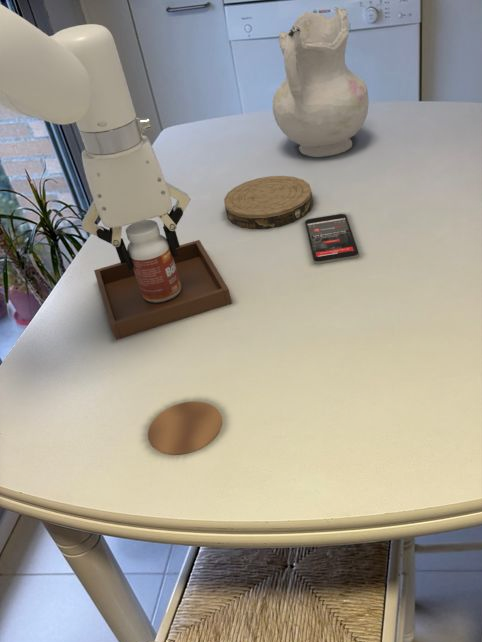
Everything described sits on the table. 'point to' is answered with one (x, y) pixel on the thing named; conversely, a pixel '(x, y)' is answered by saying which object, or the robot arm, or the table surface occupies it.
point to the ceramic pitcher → (319, 86)
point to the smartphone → (331, 239)
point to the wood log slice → (268, 202)
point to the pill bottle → (152, 262)
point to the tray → (140, 315)
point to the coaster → (185, 428)
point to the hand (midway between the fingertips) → (151, 258)
